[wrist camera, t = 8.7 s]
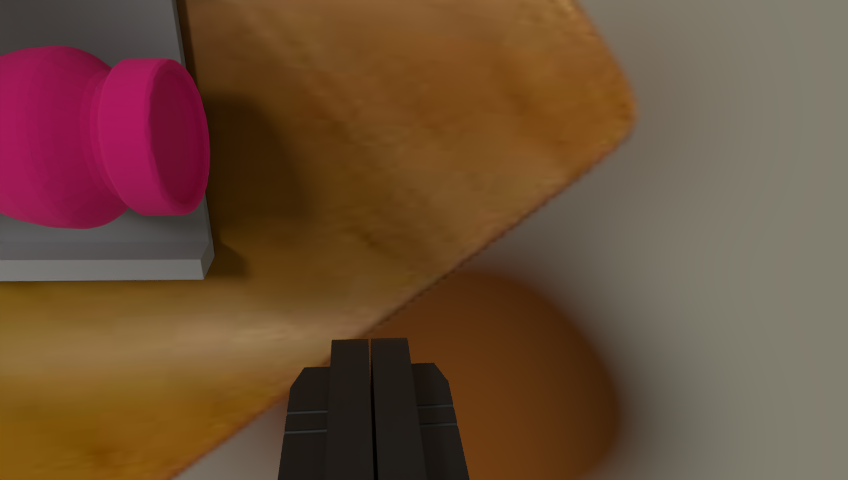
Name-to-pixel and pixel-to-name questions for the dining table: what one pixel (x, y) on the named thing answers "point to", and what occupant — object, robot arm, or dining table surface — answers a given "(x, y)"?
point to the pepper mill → (98, 138)
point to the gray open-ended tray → (131, 232)
